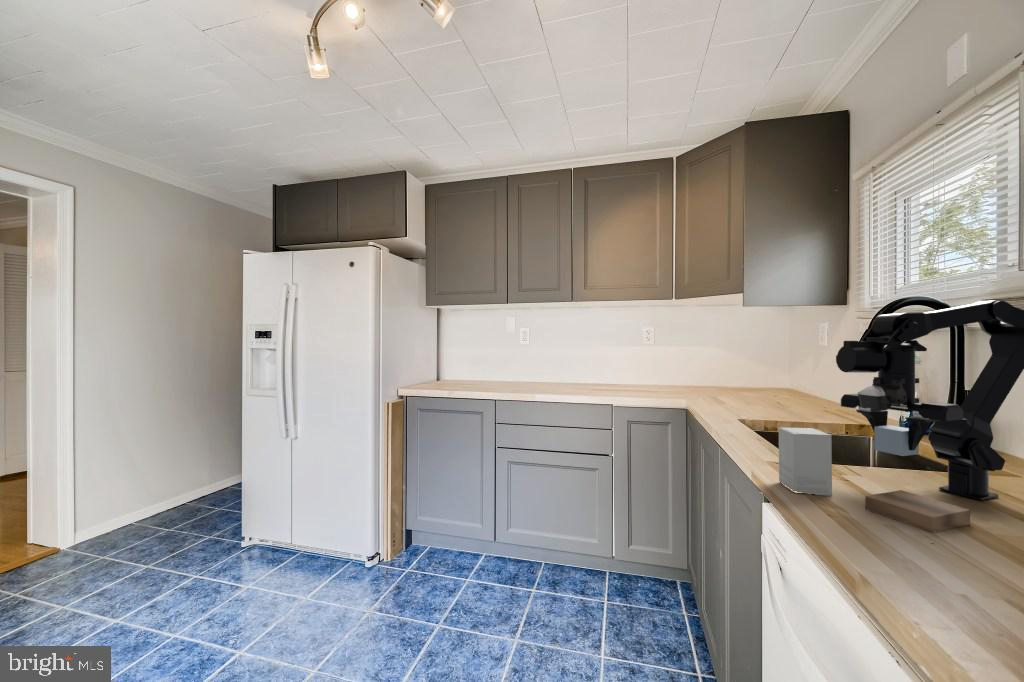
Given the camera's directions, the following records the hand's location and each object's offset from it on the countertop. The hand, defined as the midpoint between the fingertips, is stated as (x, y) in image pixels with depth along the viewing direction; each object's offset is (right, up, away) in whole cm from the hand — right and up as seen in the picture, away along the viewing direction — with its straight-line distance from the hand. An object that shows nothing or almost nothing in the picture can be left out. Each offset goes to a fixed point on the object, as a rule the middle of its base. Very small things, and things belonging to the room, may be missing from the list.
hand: (896, 446), depth 86 cm
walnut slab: (-8, -10, -12) cm, 17 cm away
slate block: (0, -1, 0) cm, 1 cm away
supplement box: (-18, -10, +2) cm, 20 cm away
